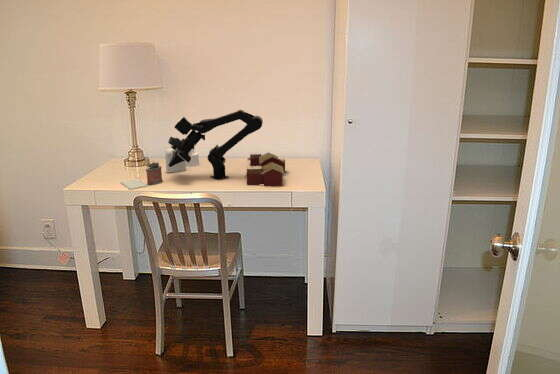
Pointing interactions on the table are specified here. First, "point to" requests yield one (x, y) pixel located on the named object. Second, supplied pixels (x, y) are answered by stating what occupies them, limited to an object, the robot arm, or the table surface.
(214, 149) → the robot arm
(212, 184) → the table surface
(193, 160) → the base with upright slab
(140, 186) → the mat
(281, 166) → the toy houses
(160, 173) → the lighter
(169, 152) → the photo printer
